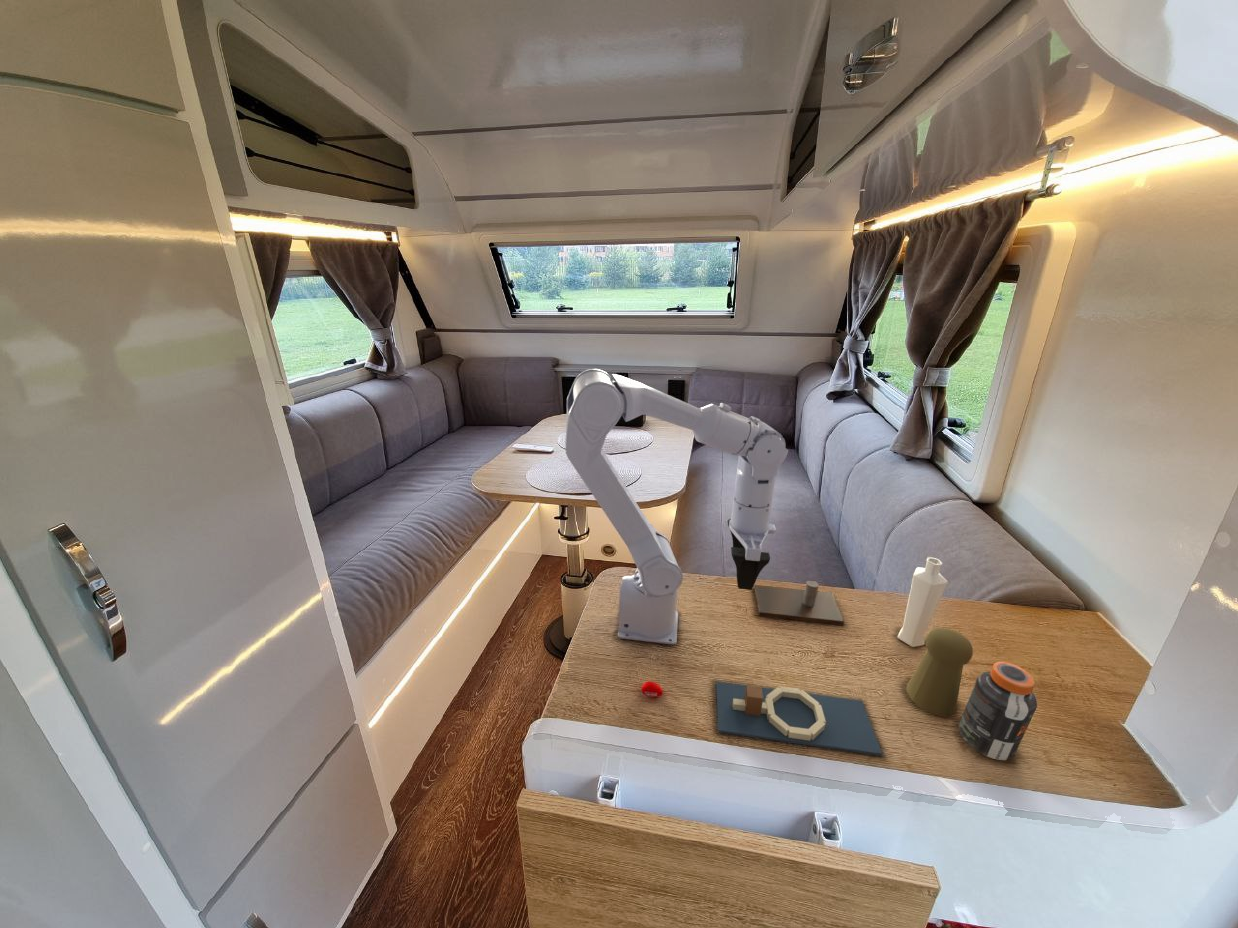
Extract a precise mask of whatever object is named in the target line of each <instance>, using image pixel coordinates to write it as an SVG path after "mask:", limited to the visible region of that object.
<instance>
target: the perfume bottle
mask: <svg viewBox="0 0 1238 928" xmlns="http://www.w3.org/2000/svg"><path fill="white" fill-rule="evenodd" d="M925 560H926V564H925V567H918V566H917V567H916V568H915V570H914V572H913V575H912V580H911V584H910V590H909V595H908V599H907V605H906V608H905V609H906V610H905V613H904V618H903V619H904V620H903V623H902V627H901V629H900V630H899V633H898V634H897V639H898V640H901V641H902V642H904V643H905V644H907V645H908V646H910V647H912V648H916V647H920V646H924V645H925V646H926V640H925V635H926V633H927V630H928V629H929V626H930V624H931V622H932V619H933V616H934V615H935V613H936V610H937V608H938V605H939V603H940V601H941V599H942V596H943V595H944V592H945V590H946V587H947V586H948V584H949V582H948V580H947V579H946V578H945V577H944V576H943V575H942V573H940V570H941V567H942V565H944V563H943V562H942V561H941V560H940V559H939V558H935V557H931V556H927V558H926V559H925Z"/></svg>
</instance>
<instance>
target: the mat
mask: <svg viewBox="0 0 1238 928" xmlns="http://www.w3.org/2000/svg"><path fill="white" fill-rule="evenodd" d="M746 685H747V684H745V685H744V684H739V683H738V684H737V683H730V682H722V681H715V691H716V693H715V694H716V714H717V732H718V733H720V734H728V735H733V736H740V737H741V736H742V737H748V738H755V739H761V740H769V741H776V742H782V743H790V744H795V745H803V746H810V747H816V748H823V749H830V750H837V751H844V752H845V751H846V752H851V753H858V754H865V755H871V756H872V755H873V756H879V757H883V754H884V753H883V750H882V748H881V745H880V743H879V741H878V738H877V735H876V733H875V730H874V728H873V725H872V722H871V720H870V717H869V714H868V712H867V709H866V706H865V704H864V702H863V700H861V699H860V700H859V699H854V698H853V699H852V698H844V697H836V696H828V695H822V694H816V693H815V694H814V693H807V694H808V695H809V696H811V697H812V698H813V699H815V700H816V701H817V702H819V705H821V707H822V710H823V714H824V717H825V720H826V724H825V728H824V730H823V731H822V732H821V733H820V734H819V735H818V736H816V737H815V738H814V739H813V740H812V739H811V740H810V741H808V740H801V739H794V738H788V735H787V736H785V735H784V734H783V733H781V732H780V731H779V730H778V729H777V728H776V727H774V726H773V725H772V724H771V723H770V722H769V720H768V719H767V714H763V713H761V715H760V716H754V715H747V714H745V711H741V710H733V704H732V703H733V699H741V700H744V697H745V690H746ZM761 688H762V694H763V702H764V703H765V698H766V696H767V695H768V694H770V693H771V692H772V691H773V690H775V689H776V688H769V687H761ZM773 706H774V712H775V715H777V716H778V717H779V718H780V719H781V720H783V721H784V722H785V723H786V724H787V725H789V726H790V727H797V728H805V729H809V728H810V727H811V726H812V725H813V724H815V723H816V718H815V714H814V711H813V710H812V709H811V708H810V707H808V706H807V705H806V704H805V703H803V702H802V701H801V700H799V699H796V698H788V697H781V698H779V699H778V700H777V701H775V702H774V703H773Z"/></svg>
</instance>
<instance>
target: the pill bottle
mask: <svg viewBox="0 0 1238 928" xmlns="http://www.w3.org/2000/svg"><path fill="white" fill-rule="evenodd" d="M1035 685H1036V682H1035V679H1034V677H1033V676H1032V675H1031V674H1030V673H1029V672H1028V671H1027V670H1025V669H1024V668H1022V667H1020V666H1018V665H1016V664H1013V663H1011V662H1007V661H997V662H995V663H994V664H993V665H992V668H991V670H990V671H984V672H982V673H981V674H979V675H978V676H977V678H976V680H975V683H974V686H973V687H972V690H971V692H970V695H969V697H968V700H967V702H966V705H965V707H964V710H963V713H962V715H961V718H960V720H959V724H958V730H959V734H960V736H961V737H962V739H963V740H964V741H965V743H966V744H968V745H969V746H970V747H971V749H973V750H974V751H976V752H978V753H979V754H981V755H983V756H985V757H987V758H989V759H993V760H996V761H1009V760H1011V759H1013V758H1014V757H1015V755H1016V753H1017V751H1018V749H1019V747H1020V745H1021V743H1022V740H1023V738H1024V736H1025V734H1026V732H1027V730H1028V727H1029V725H1030V723H1031V721H1032V719H1033V718H1034V715H1035V713H1036V710H1037V708H1038V701H1037V700H1038V699H1037V697H1036V695H1035V694H1034V692H1033V691H1034V687H1035Z"/></svg>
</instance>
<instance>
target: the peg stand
mask: <svg viewBox="0 0 1238 928" xmlns="http://www.w3.org/2000/svg"><path fill="white" fill-rule="evenodd" d="M753 589H754V595H755V601H756V607H757V611H758V616H759V617H765V618H766V617H768V618H774V619H775V618H776V619H784V620H785V619H786V620H795V621H801V622H802V621H804V622H812V623H821V624H830V625H839V626H844V624H845V620H844V618H843V615H842V612H841V610H840V608H839V606H838V603H837V601H836V599H835V596H834V593H833V592H831V591H821V590H819V583H818V582H817V581H814V580H807V581H806V583H805V588H804V589H802V588H801V589H800V588H790V587H780V586H771V585H762V584H761V585H760V584H754V586H753Z"/></svg>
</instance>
